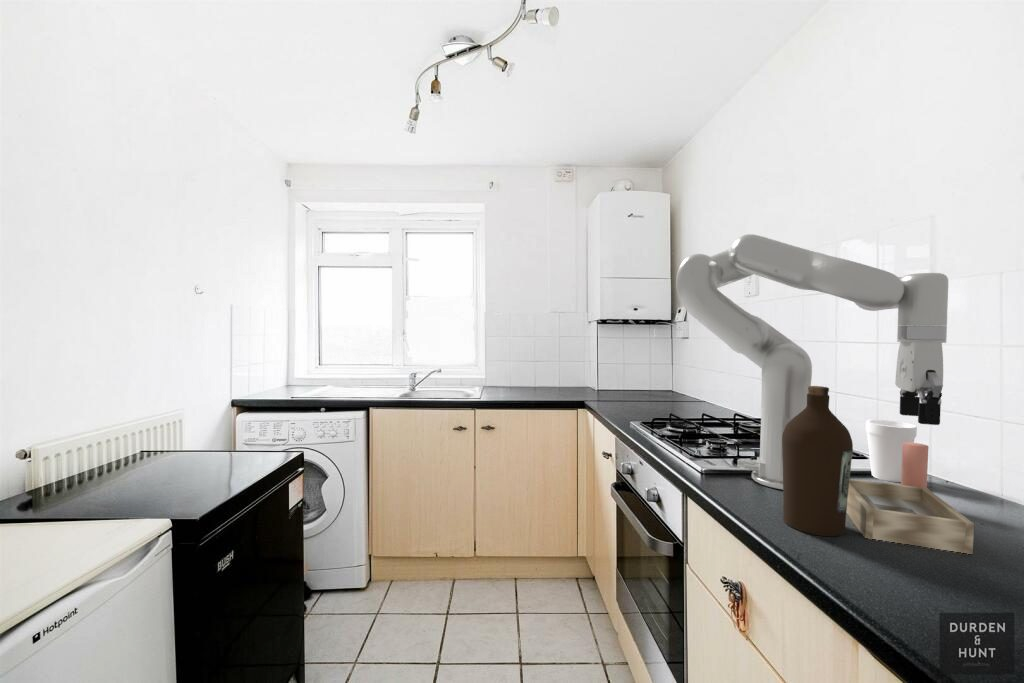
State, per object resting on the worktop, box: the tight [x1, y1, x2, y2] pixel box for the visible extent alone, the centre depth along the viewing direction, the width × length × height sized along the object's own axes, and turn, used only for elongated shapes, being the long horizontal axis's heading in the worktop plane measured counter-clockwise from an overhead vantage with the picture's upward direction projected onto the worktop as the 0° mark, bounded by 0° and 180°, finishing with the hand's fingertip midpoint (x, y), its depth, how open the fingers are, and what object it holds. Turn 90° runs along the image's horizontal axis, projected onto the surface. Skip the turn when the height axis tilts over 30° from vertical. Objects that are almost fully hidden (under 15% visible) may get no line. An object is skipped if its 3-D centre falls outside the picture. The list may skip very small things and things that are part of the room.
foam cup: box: [865, 419, 918, 483], centre depth 113 cm, size 10×9×13 cm
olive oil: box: [782, 385, 854, 537], centre depth 85 cm, size 11×11×25 cm
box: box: [846, 478, 975, 555], centre depth 86 cm, size 14×18×5 cm
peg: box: [900, 442, 930, 489], centre depth 97 cm, size 4×4×12 cm
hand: (918, 419), depth 96 cm, fingers open, 9 cm apart
